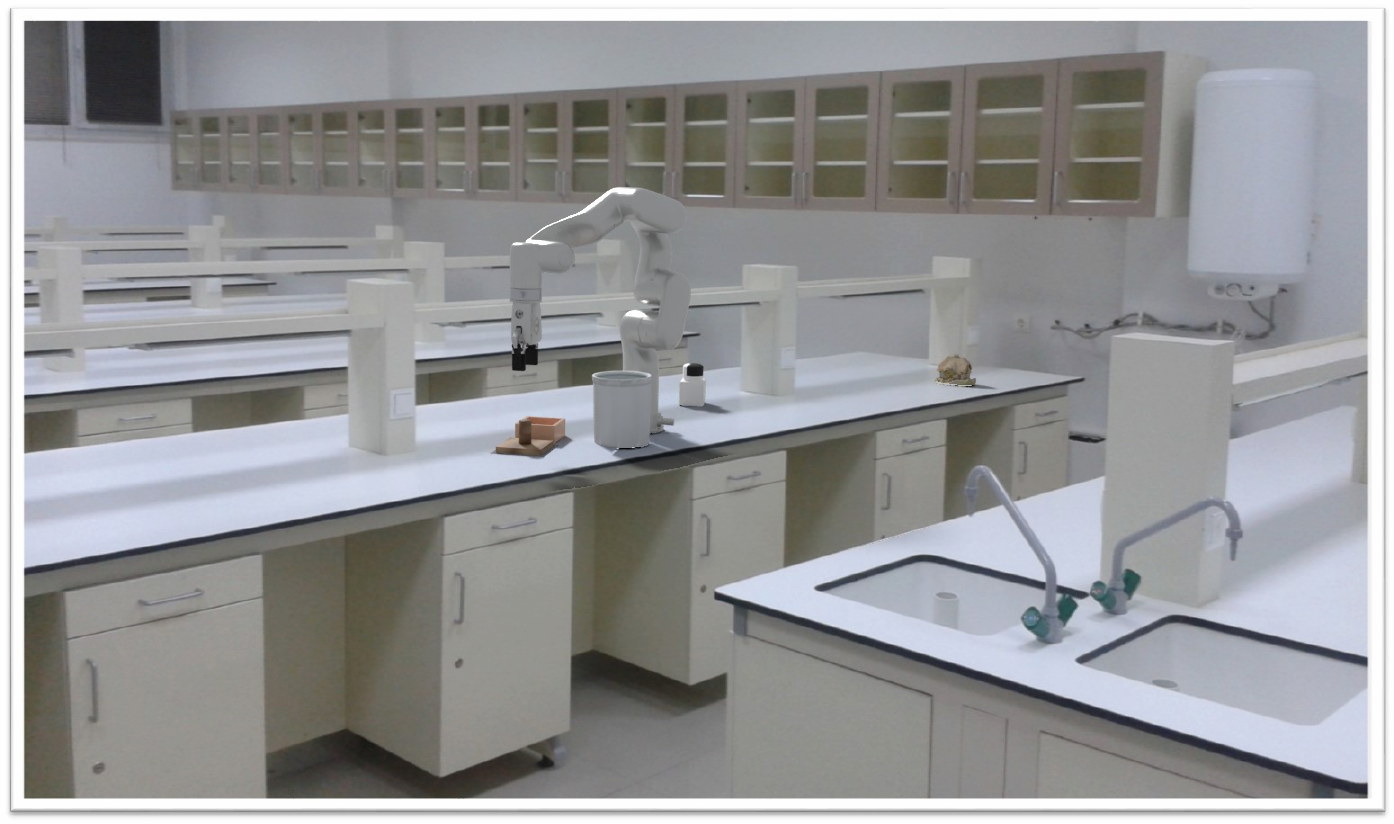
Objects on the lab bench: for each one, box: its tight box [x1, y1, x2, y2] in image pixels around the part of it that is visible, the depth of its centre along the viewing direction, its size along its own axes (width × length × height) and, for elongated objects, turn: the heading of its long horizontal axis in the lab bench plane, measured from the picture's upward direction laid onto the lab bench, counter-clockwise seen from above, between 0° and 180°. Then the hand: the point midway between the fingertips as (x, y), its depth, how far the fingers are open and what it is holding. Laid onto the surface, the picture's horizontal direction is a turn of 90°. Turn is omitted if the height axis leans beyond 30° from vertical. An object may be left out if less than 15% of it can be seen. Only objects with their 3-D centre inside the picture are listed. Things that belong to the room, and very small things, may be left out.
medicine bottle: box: [678, 362, 707, 408], centre depth 370 cm, size 7×7×12 cm
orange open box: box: [514, 415, 566, 445], centre depth 315 cm, size 10×10×5 cm
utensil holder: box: [591, 370, 652, 448], centre depth 313 cm, size 15×15×18 cm
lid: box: [495, 418, 555, 456], centre depth 302 cm, size 11×11×7 cm
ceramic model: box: [934, 353, 977, 386], centre depth 421 cm, size 14×11×10 cm
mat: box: [490, 444, 559, 458], centre depth 303 cm, size 13×13×1 cm
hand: (525, 367), depth 299 cm, fingers open, 9 cm apart
